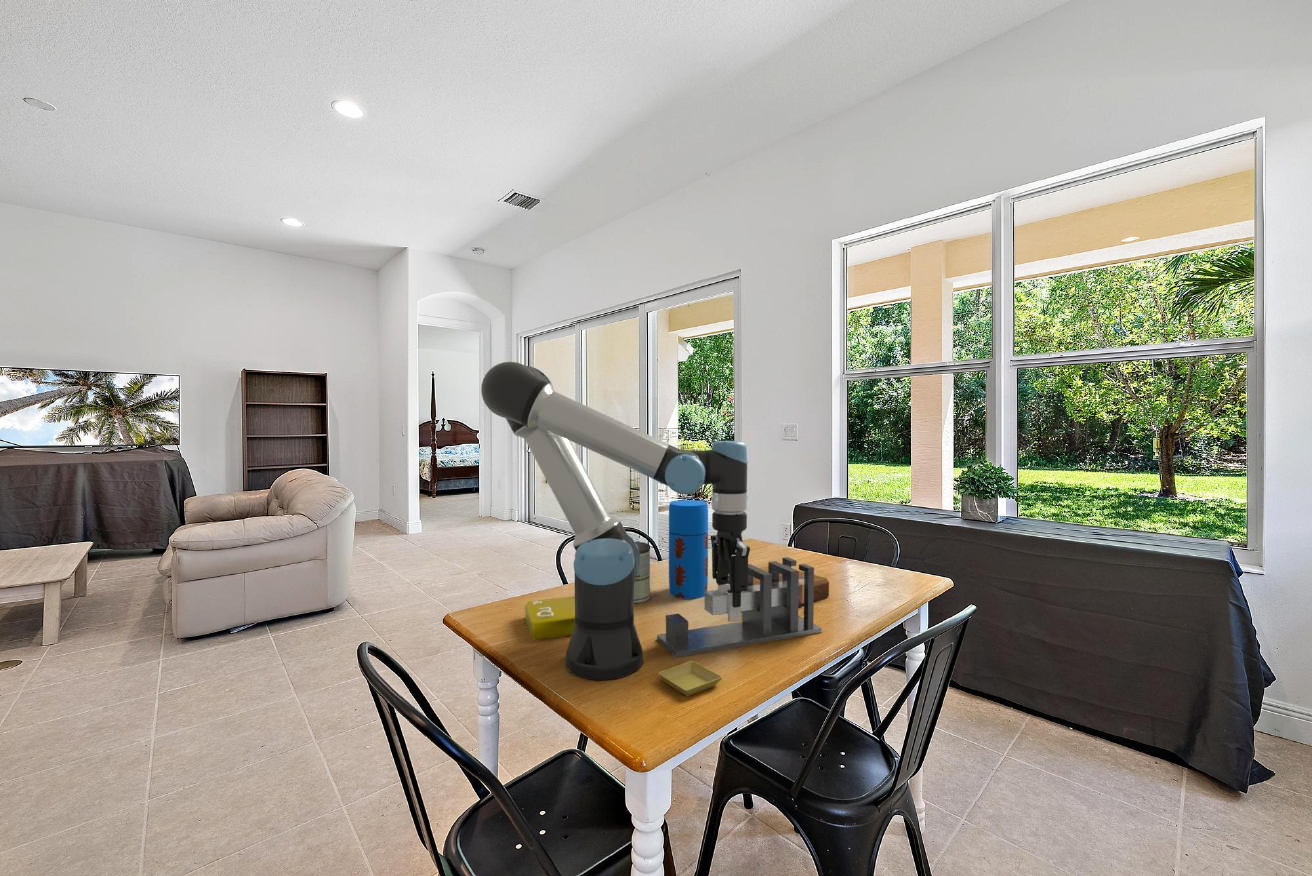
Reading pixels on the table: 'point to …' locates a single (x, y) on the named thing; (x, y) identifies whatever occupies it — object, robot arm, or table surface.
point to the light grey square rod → (749, 597)
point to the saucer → (690, 678)
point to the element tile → (550, 617)
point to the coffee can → (642, 574)
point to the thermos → (688, 548)
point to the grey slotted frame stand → (751, 616)
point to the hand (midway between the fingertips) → (729, 616)
